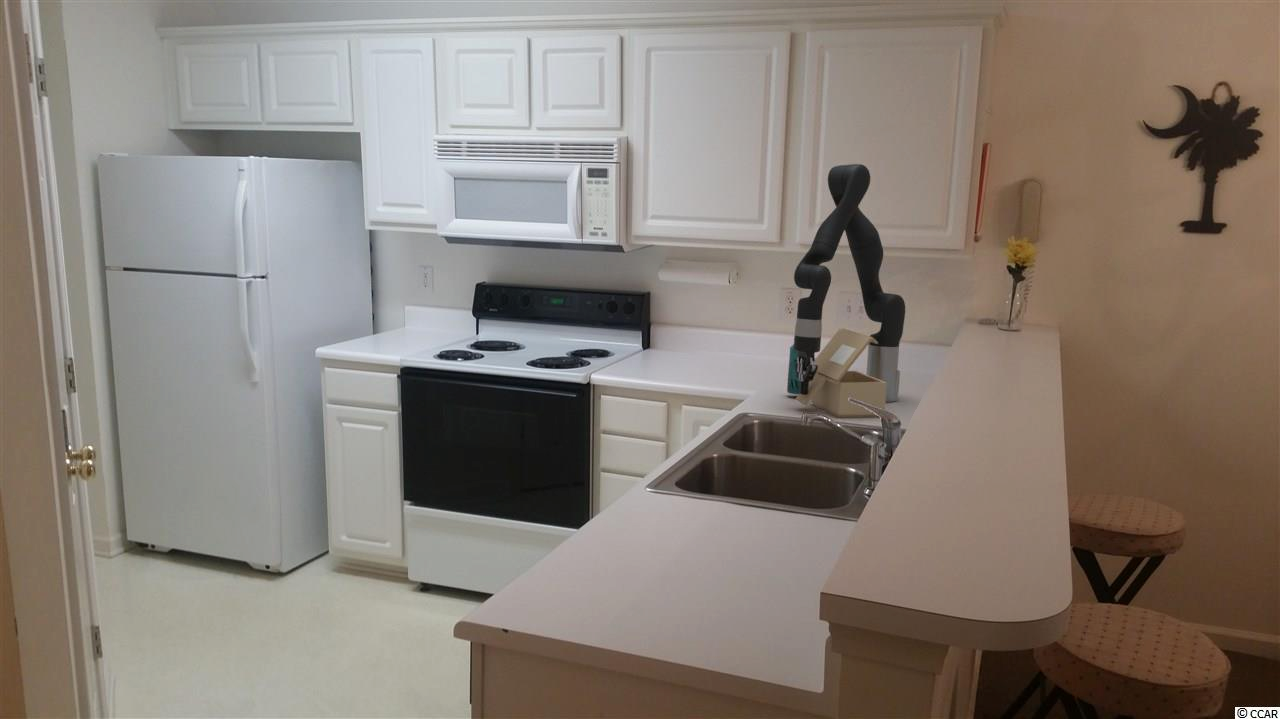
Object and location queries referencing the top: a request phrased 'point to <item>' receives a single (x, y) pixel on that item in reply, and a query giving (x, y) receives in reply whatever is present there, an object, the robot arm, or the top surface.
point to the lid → (836, 360)
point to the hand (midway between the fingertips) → (803, 394)
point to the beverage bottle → (792, 373)
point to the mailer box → (851, 395)
